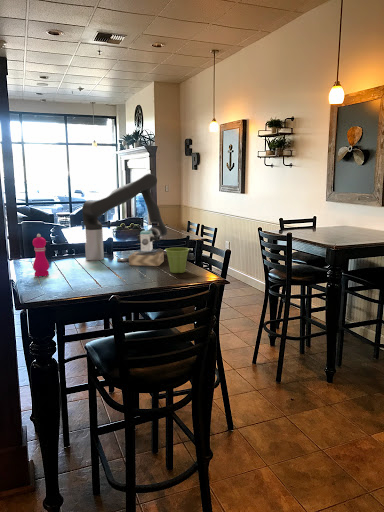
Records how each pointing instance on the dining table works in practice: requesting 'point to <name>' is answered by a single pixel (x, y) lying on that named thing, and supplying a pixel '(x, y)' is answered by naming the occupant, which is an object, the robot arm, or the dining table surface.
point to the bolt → (123, 259)
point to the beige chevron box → (146, 258)
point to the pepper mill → (40, 257)
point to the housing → (146, 240)
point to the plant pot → (177, 259)
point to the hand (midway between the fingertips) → (145, 239)
